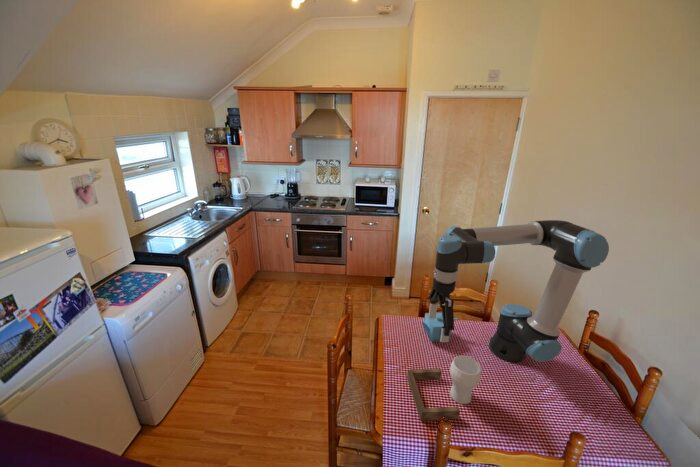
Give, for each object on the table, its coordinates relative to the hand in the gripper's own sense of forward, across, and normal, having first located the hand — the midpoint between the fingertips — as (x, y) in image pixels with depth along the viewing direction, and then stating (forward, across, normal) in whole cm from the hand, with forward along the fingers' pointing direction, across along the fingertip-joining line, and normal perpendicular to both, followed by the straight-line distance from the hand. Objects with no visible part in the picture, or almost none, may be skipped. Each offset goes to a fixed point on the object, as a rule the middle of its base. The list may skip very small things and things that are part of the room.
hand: (437, 329), depth 112 cm
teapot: (+26, -27, +12) cm, 39 cm away
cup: (+26, +7, +9) cm, 28 cm away
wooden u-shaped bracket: (+25, +7, -2) cm, 26 cm away
